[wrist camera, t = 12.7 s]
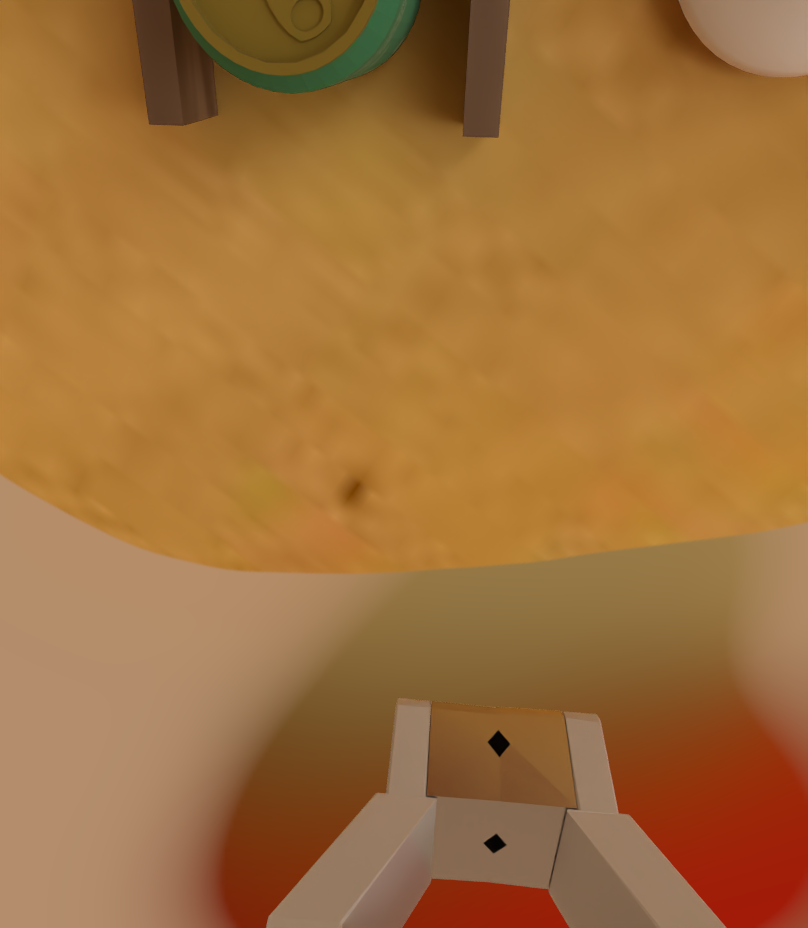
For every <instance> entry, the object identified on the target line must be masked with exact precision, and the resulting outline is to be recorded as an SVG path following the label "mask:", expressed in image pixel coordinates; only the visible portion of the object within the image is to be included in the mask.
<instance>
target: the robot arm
mask: <svg viewBox="0 0 808 928" xmlns="http://www.w3.org/2000/svg"><path fill="white" fill-rule="evenodd" d="M430 712H431V716H430ZM429 730H430V731H429ZM431 878H434V879H450V880H466V881H483V882H494V883H501V884H510V885H518V886H526V887H534V888H544V889H549V894H550V895H551V897H552V899H553V901H554V902H555V904H556V906H557V907H558V909H559V911H560V912H561V914H562V916H563V917H564V919H565V921H566V922H567V924H568V926H569V927H570V928H726V927H725V926H724V925H723V923H722V922H721V921H720V920H719V919H718V918H717V916H716V915H715V914H714V913H713V912H712V911H711V909H710V908H709V907H708V906H707V905H706V904H705V902H703V900H702V899H701V898H700V897H699V895H698V894H697V893H696V892H695V891H694V890H693V889H692V887H691V886H690V885H689V884H688V883H687V882H686V880H685V879H684V878H683V877H682V876H681V875H680V874H679V872H678V871H677V870H676V869H675V868H674V866H673V865H672V864H671V863H670V862H669V861H668V859H667V858H666V857H665V856H664V855H663V854H662V853H661V851H660V850H659V849H658V848H657V847H656V846H655V844H654V843H653V842H652V841H651V840H650V839H649V837H648V836H647V835H646V834H645V833H644V832H643V830H642V829H641V828H640V827H639V826H638V825H637V824H636V822H635V821H634V820H633V819H632V818H631V816H630V815H626V814H619V813H618V808H617V803H616V798H615V793H614V788H613V782H612V778H611V772H610V767H609V762H608V757H607V752H606V747H605V742H604V737H603V732H602V726H601V721H600V719H599V718H598V716H597V715H596V714H587V713H575V712H561V711H554V710H539V709H524V708H509V707H496V708H494V707H485V706H475V705H466V704H457V703H447V702H438V701H432V704H431V701H424V700H414V699H404V698H398V701H397V704H396V709H395V718H394V727H393V736H392V745H391V754H390V764H389V772H388V781H387V790H386V793H376V794H375V795H374V796H373V797H372V798H371V800H370V801H369V802H368V803H367V804H366V805H365V806H364V808H363V809H362V810H361V811H360V812H359V813H358V815H357V816H356V817H355V818H354V819H353V820H352V822H351V823H350V824H349V825H348V826H347V827H346V828H345V830H344V831H343V832H342V833H341V834H340V835H339V837H338V838H337V839H336V840H335V841H334V842H333V843H332V844H331V846H330V847H329V848H328V849H327V850H326V851H325V853H324V854H323V855H322V856H321V857H320V858H319V859H318V861H317V862H316V863H315V864H314V865H313V866H312V868H311V869H310V870H309V871H308V872H307V873H306V874H305V876H304V877H303V878H302V879H301V880H300V881H299V882H298V884H297V885H296V886H295V887H294V888H293V890H291V892H290V893H289V894H288V895H287V896H286V898H285V899H284V900H283V901H282V902H281V903H280V904H279V906H278V907H277V908H276V909H275V910H274V911H273V912H272V914H271V915H270V916H269V918H268V922H267V927H266V928H402V927H403V925H404V923H405V922H406V920H407V919H408V917H409V915H410V914H411V912H412V911H413V909H414V908H415V906H416V904H417V903H418V901H419V900H420V898H421V896H422V895H423V893H424V892H425V890H426V889H427V887H428V886H429V884H430V881H431Z"/></svg>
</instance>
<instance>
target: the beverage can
mask: <svg viewBox="0 0 808 928" xmlns="http://www.w3.org/2000/svg"><path fill="white" fill-rule="evenodd" d="M173 1H174V3H175V5H176V7H177V10H178V12H179V14H180V16H181V18H182V20H183V22H184V23H185V25H186V26H187V28H188V29H189V31H190V32H191V34H192V36H193V37H194V39H195V40H196V41H197V42H198V43H199V45H200V46H201V47H202V48H203V49H204V50H205V52H206V53H207V54H208V55H209V56H210V57H211V58H212V59H213V60H215V61H216V62H217V63H218V64H219V65H220V66H221V67H222V68H224V69H225V70H227V71H228V72H230V73H231V74H233V75H234V76H236V77H237V78H239V79H240V80H243V81H245V82H247V83H249V84H251V85H254V86H256V87H259V88H262V89H266V90H270V91H274V92H283V93H303V92H312V91H315V90H319V89H323V88H326V87H329V86H332V85H335V84H338V83H341V82H344V81H347V80H349V79H352V78H355V77H358V76H361V75H363V74H365V73H368V72H370V71H372V70H374V69H376V68H377V67H378V66H380V65H381V64H383V63H384V62H386V61H387V60H388V59H389V58H390V57H391V56H392V55H393V54H394V53H395V52H396V51H397V50H398V48H399V47H400V46H401V44H402V43H403V42H404V40H405V39H406V37H407V35H408V33H409V31H410V30H411V28H412V26H413V24H414V21H415V18H416V15H417V13H418V10H419V6H420V1H421V0H173Z"/></svg>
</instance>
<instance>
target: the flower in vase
mask: <svg viewBox="0 0 808 928" xmlns="http://www.w3.org/2000/svg"><path fill="white" fill-rule="evenodd" d="M678 1H679V3H680V6H681V9H682V11H683V14H684V16H685V18H686V19H687V21H688V23H689V25H690V27H691V28H692V30H693V31H694V33H695V34H696V35H697V37H698V38H699V39H700V40H701V42H702V43H703V44H704V45H705V46H706V47H707V48H708V49H709V50H710V51H711V52H712V53H714V54H715V55H716V56H717V57H719V58H720V59H722V60H723V61H725V62H726V63H728V64H729V65H731V66H734V67H736V68H738V69H740V70H742V71H745V72H748V73H752V74H756V75H759V76H766V77H775V78H786V77H800V76H805V75H808V0H678Z"/></svg>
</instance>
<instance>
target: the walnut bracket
mask: <svg viewBox="0 0 808 928" xmlns="http://www.w3.org/2000/svg"><path fill="white" fill-rule="evenodd" d="M132 1H133V8H134V16H135V23H136V30H137V38H138V45H139V53H140V60H141V67H142V75H143V82H144V90H145V97H146V104H147V112H148V119H149V124H152V125H179V126H184V125H187V124H190V123H194V122H197V121H200V120H203V119H207V118H210V117H213V116H216V115H218V112H217V102H216V91H215V80H214V69H213V59H212V58H211V57H210V56H209V55H208V54H207V53H206V52H205V50H204V49H203V48H202V47H201V46H200V45H199V43H198V42H197V41H196V40H195V39H194V37H193V36H192V34H191V32H190V31H189V29H188V28H187V26H186V25H185V23H184V22H183V20H182V18H181V16H180V14H179V12H178V10H177V7H176V5H175V3H174V1H173V0H132ZM509 6H510V0H471V9H470V25H469V41H468V58H467V74H466V90H465V106H464V122H463V136H466V137H492V138H498V136H499V124H500V112H501V100H502V89H503V77H504V65H505V53H506V41H507V29H508V18H509Z"/></svg>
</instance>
